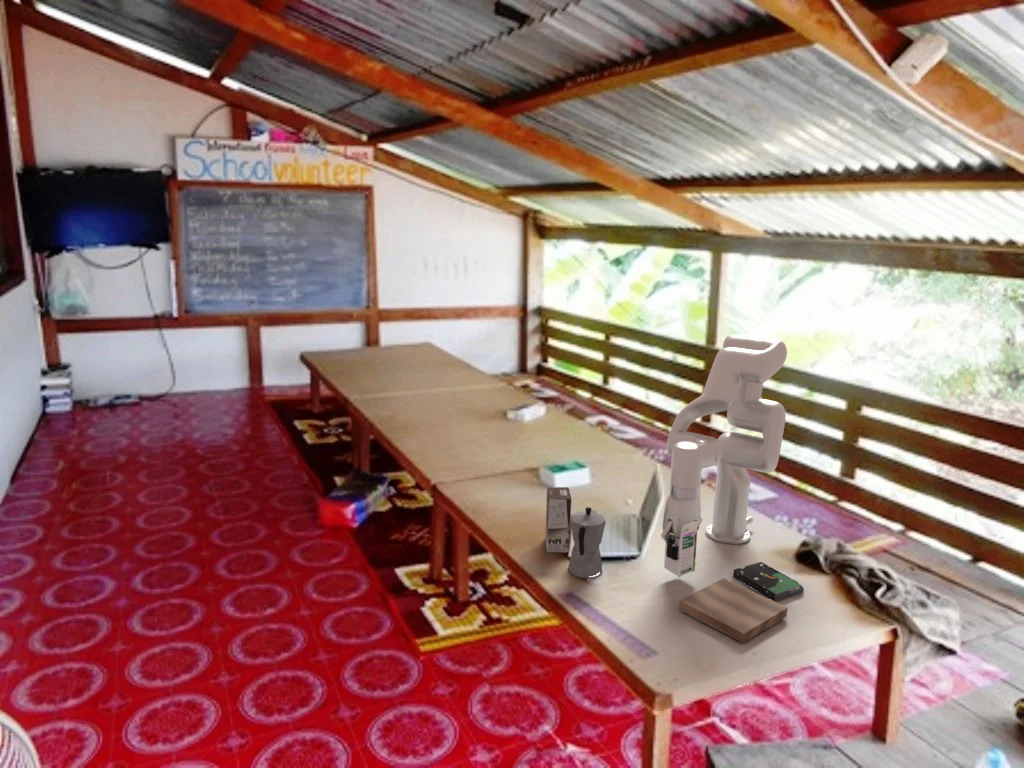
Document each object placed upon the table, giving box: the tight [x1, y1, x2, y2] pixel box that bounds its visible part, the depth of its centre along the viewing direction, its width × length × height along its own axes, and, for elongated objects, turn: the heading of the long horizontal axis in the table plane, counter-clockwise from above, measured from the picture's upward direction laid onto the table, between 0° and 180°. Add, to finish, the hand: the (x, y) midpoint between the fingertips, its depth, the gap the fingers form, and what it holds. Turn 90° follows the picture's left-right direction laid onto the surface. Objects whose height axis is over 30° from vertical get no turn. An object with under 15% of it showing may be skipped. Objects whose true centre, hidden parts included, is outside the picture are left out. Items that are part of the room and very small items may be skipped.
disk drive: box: [732, 561, 805, 603], centre depth 201 cm, size 10×3×15 cm
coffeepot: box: [567, 506, 606, 579], centre depth 203 cm, size 15×9×18 cm, turn 163°
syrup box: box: [663, 520, 698, 578], centre depth 200 cm, size 6×6×14 cm
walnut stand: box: [678, 577, 789, 644], centre depth 186 cm, size 18×18×3 cm
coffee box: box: [545, 486, 573, 554], centre depth 218 cm, size 9×6×16 cm
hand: (680, 553), depth 201 cm, fingers closed on syrup box, 6 cm apart
